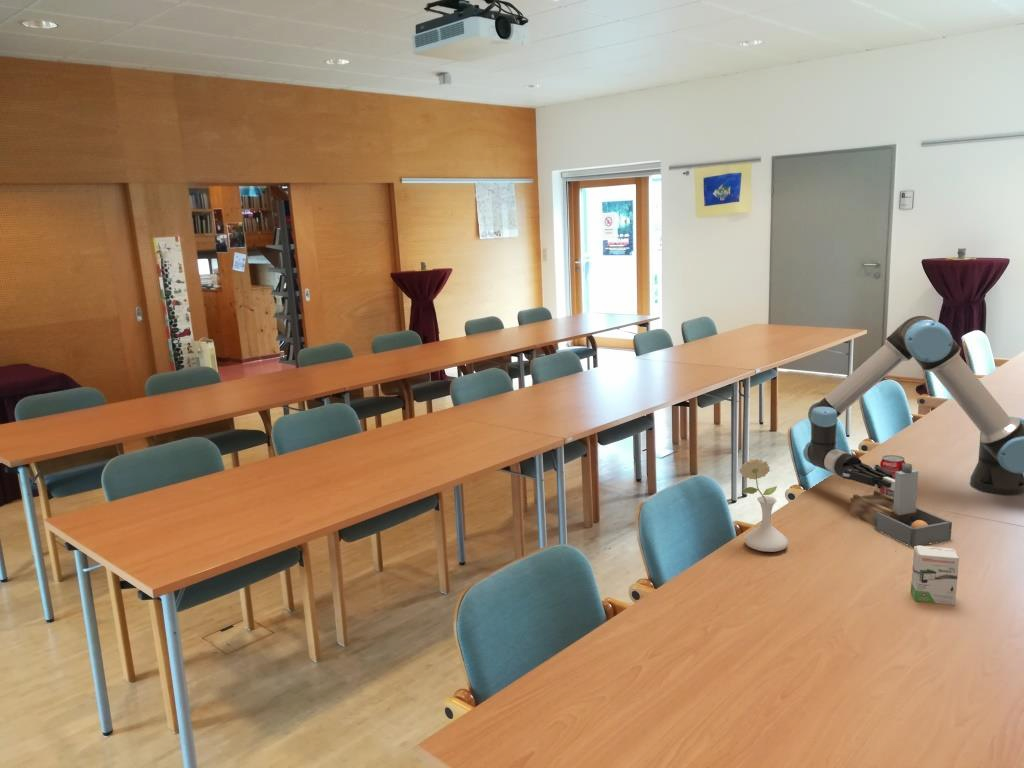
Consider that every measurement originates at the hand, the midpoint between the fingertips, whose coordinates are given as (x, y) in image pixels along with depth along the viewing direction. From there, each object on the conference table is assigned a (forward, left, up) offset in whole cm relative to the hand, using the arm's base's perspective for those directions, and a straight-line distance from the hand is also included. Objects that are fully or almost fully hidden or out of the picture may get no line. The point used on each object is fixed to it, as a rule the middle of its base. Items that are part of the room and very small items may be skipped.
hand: (902, 488), depth 212 cm
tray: (-2, +4, -12) cm, 13 cm away
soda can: (-4, -25, -12) cm, 28 cm away
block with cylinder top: (-1, +1, -7) cm, 7 cm away
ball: (-4, +6, -9) cm, 12 cm away
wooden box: (+3, -6, -12) cm, 14 cm away
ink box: (+2, +42, -12) cm, 43 cm away
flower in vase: (+38, +17, -12) cm, 44 cm away
